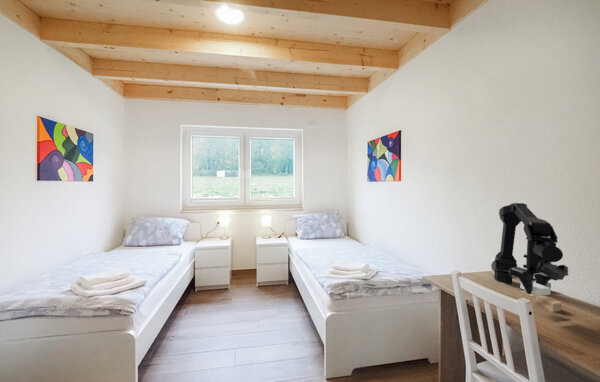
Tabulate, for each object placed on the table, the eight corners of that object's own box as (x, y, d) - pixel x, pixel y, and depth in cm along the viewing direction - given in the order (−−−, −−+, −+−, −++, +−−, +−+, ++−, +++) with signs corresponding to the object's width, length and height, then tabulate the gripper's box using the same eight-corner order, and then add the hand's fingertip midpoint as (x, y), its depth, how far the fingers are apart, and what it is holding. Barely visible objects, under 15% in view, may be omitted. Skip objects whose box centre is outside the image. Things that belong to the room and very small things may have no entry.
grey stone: (544, 291, 118) (545, 281, 118) (552, 294, 115) (552, 284, 115) (533, 293, 117) (533, 282, 116) (540, 295, 114) (540, 285, 114)
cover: (520, 287, 101) (520, 282, 101) (530, 286, 102) (530, 281, 102) (539, 295, 94) (540, 289, 94) (550, 294, 95) (550, 288, 95)
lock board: (507, 295, 114) (507, 285, 114) (529, 292, 117) (530, 283, 117) (551, 315, 98) (552, 303, 97) (576, 311, 100) (576, 300, 100)
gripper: (541, 262, 87) (539, 306, 88) (581, 259, 91) (579, 300, 92) (509, 253, 98) (507, 291, 99) (546, 250, 102) (543, 287, 103)
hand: (534, 293), depth 98 cm, fingers closed on cover, 5 cm apart
